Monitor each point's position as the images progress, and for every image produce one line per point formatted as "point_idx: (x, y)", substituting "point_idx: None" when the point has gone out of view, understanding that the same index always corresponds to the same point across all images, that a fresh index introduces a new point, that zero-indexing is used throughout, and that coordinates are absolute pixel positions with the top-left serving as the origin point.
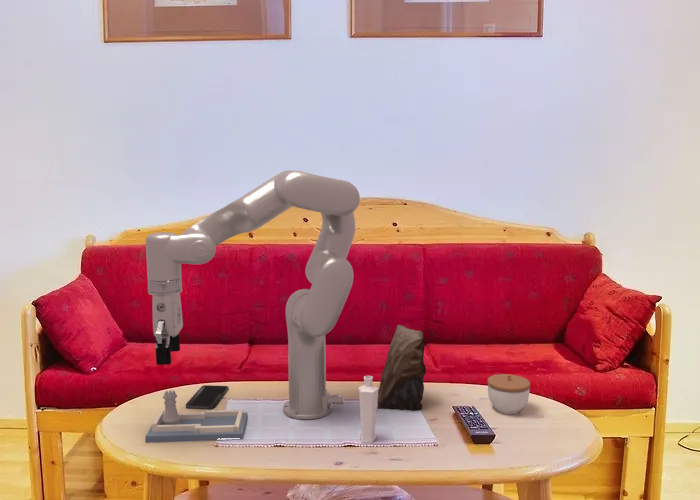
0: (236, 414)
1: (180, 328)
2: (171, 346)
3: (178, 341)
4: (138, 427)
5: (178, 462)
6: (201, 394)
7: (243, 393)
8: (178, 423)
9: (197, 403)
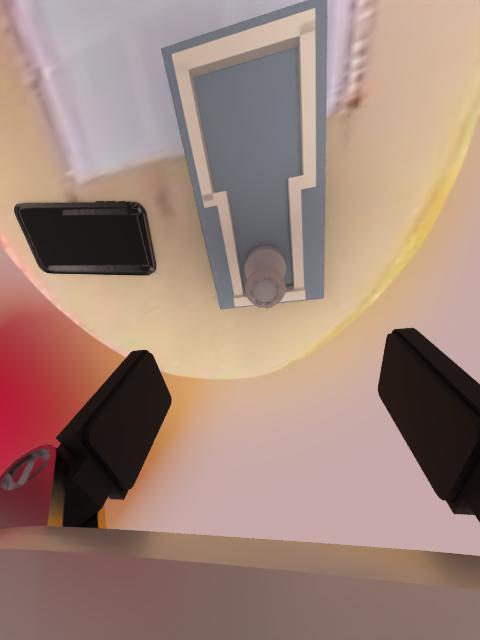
0: (193, 84)
1: (112, 621)
2: (152, 402)
3: (117, 395)
4: (254, 327)
5: (434, 184)
6: (85, 259)
7: (22, 148)
8: (271, 247)
9: (132, 251)
